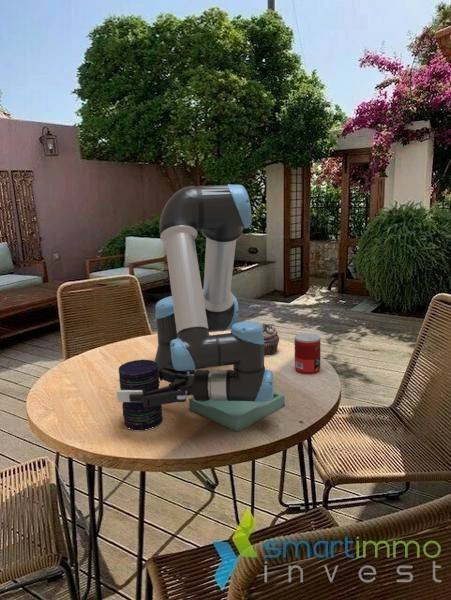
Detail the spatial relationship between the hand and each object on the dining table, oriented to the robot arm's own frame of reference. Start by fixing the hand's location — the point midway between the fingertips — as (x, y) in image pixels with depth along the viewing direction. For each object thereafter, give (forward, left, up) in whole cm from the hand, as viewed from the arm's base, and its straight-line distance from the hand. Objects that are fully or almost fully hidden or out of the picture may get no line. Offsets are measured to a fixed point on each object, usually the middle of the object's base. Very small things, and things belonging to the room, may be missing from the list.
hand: (126, 384), depth 116 cm
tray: (+16, +23, -10) cm, 30 cm away
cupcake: (-6, +60, -10) cm, 61 cm away
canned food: (+15, +56, -10) cm, 59 cm away
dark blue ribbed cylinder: (+3, +2, -10) cm, 11 cm away
